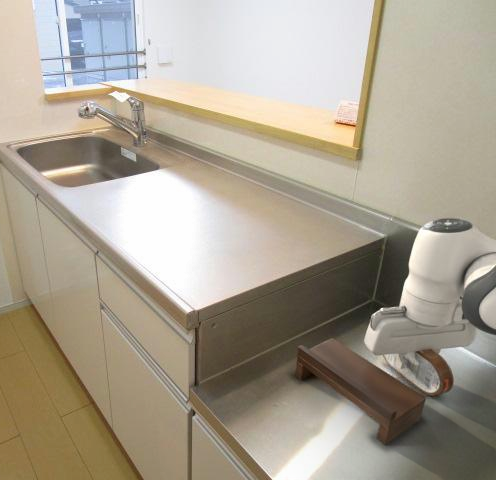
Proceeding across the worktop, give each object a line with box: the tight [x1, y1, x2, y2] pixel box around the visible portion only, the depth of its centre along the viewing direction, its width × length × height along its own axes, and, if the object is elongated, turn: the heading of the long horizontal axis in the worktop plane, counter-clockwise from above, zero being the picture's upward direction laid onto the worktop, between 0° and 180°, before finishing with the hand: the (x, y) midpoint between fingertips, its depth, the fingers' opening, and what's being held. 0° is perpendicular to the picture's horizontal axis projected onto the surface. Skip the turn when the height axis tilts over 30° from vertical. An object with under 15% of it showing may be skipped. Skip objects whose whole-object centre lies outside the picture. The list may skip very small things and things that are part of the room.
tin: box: [382, 349, 454, 397], centre depth 86 cm, size 15×3×8 cm, turn 22°
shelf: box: [294, 337, 427, 446], centre depth 83 cm, size 10×20×7 cm, turn 32°
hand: (412, 365), depth 87 cm, fingers closed on tin, 3 cm apart
